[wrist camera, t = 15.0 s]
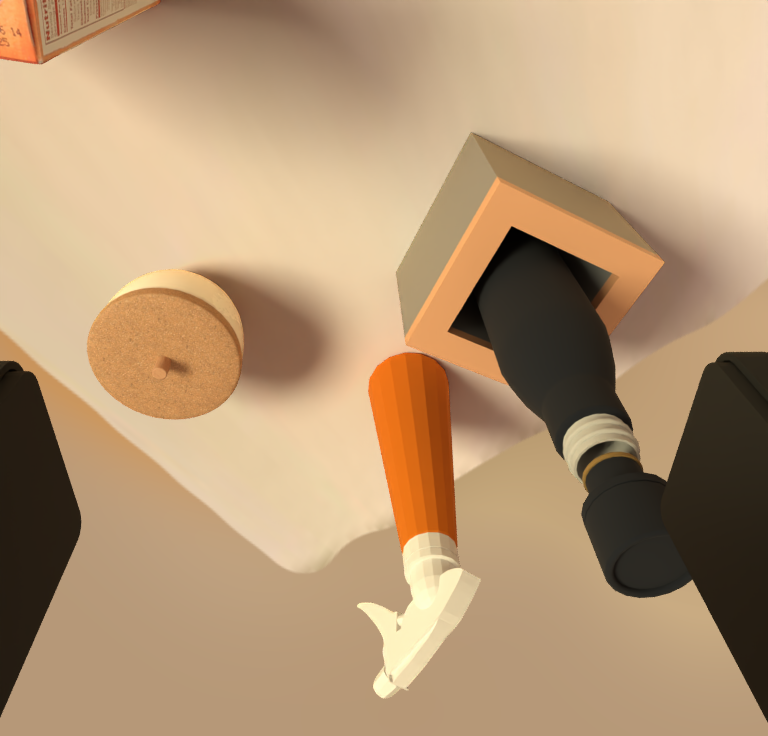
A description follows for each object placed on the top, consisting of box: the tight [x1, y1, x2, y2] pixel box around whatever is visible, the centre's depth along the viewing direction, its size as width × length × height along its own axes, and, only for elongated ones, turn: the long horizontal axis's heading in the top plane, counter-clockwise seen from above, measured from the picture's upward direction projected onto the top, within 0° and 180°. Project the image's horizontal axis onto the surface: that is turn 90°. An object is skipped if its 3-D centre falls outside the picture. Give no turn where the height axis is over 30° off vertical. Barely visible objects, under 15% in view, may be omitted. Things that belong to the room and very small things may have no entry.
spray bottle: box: [357, 353, 481, 698], centre depth 49 cm, size 7×11×26 cm, turn 141°
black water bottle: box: [473, 226, 692, 598], centre depth 38 cm, size 6×6×30 cm
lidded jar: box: [87, 269, 244, 419], centre depth 51 cm, size 11×11×9 cm
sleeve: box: [396, 133, 665, 385], centre depth 48 cm, size 12×12×11 cm
